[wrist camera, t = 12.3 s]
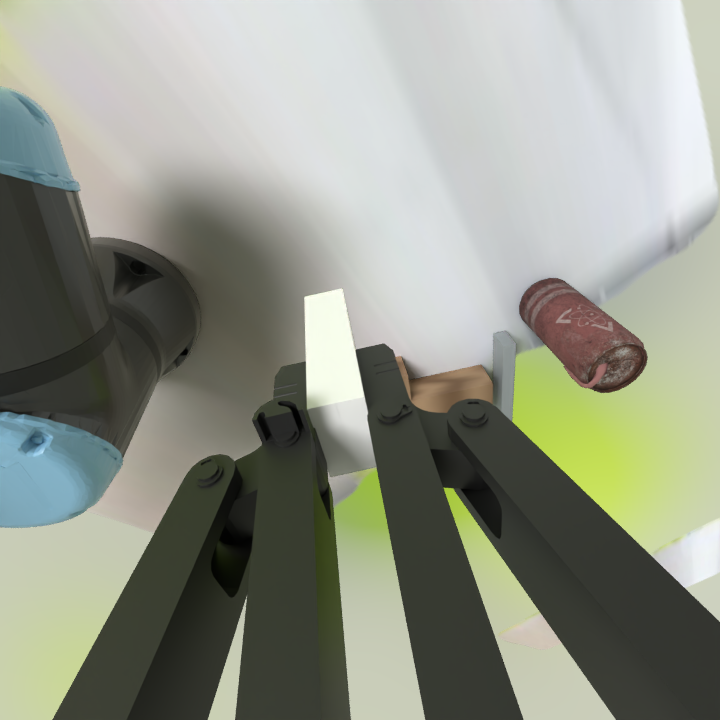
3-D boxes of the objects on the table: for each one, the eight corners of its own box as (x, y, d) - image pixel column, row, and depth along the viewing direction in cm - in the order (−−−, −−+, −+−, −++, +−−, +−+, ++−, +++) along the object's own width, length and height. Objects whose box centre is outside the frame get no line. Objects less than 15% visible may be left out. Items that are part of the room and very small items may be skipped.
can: (505, 306, 48) (569, 378, 37) (549, 265, 46) (632, 328, 34) (534, 333, 51) (602, 408, 39) (577, 296, 49) (663, 364, 37)
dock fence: (423, 436, 59) (429, 451, 56) (412, 350, 50) (418, 364, 48) (502, 419, 59) (511, 434, 56) (505, 330, 50) (516, 343, 48)
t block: (382, 431, 57) (387, 452, 54) (368, 362, 50) (373, 382, 47) (481, 409, 57) (492, 430, 54) (480, 338, 50) (493, 356, 47)
